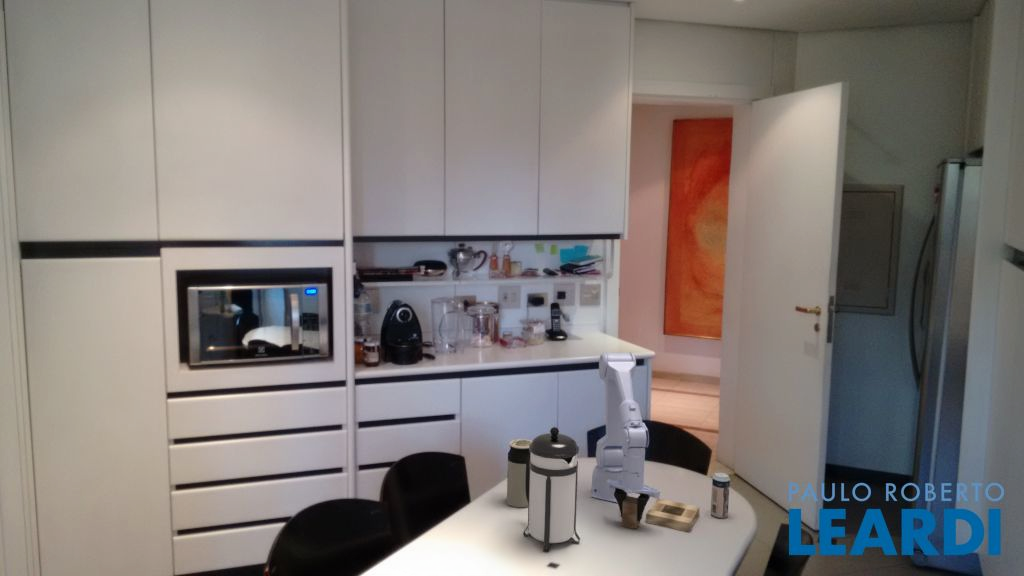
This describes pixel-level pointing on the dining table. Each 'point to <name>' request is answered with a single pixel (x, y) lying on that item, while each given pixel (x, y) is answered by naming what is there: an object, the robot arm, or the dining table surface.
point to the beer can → (720, 495)
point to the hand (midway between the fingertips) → (631, 517)
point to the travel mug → (517, 472)
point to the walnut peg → (630, 512)
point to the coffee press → (552, 488)
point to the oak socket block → (672, 515)
